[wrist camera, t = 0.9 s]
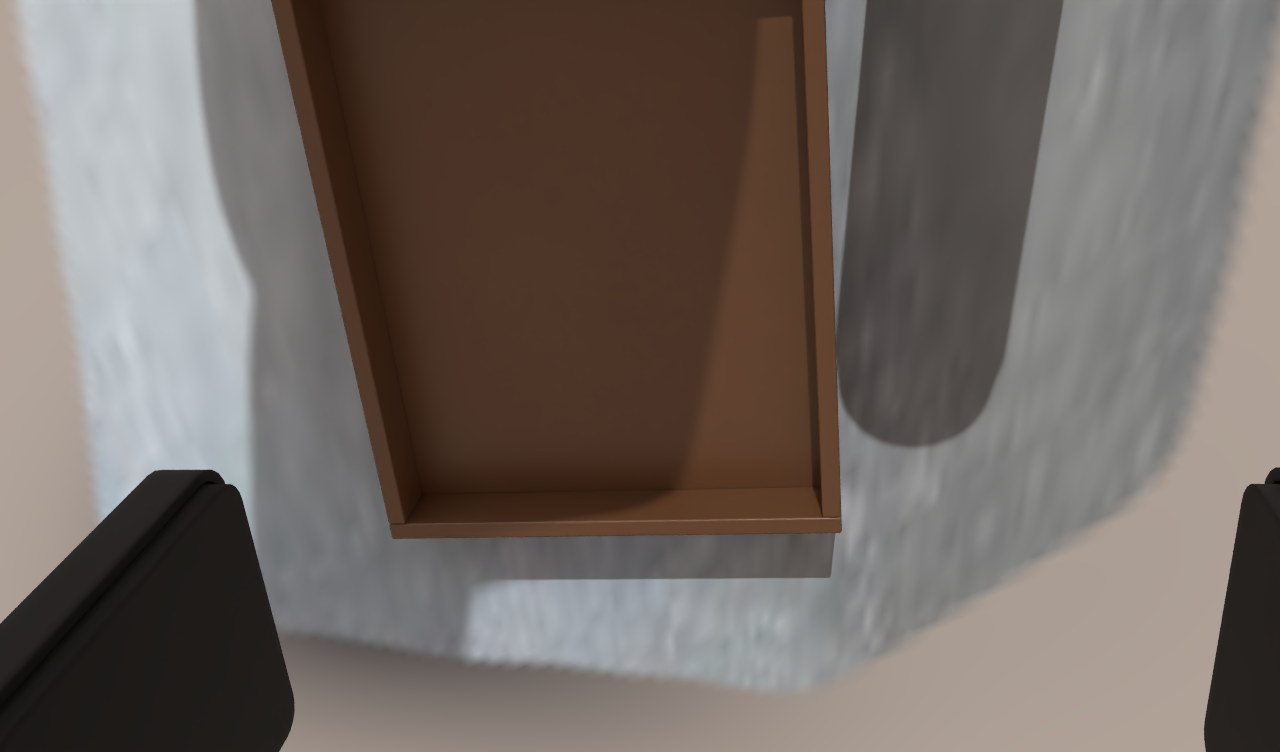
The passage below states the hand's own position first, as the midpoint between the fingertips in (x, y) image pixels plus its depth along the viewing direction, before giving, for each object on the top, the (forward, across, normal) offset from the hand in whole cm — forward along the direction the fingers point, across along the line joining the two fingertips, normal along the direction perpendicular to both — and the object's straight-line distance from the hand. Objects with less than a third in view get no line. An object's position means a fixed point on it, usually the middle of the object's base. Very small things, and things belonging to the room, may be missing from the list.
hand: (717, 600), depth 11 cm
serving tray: (+26, +6, +5) cm, 27 cm away
